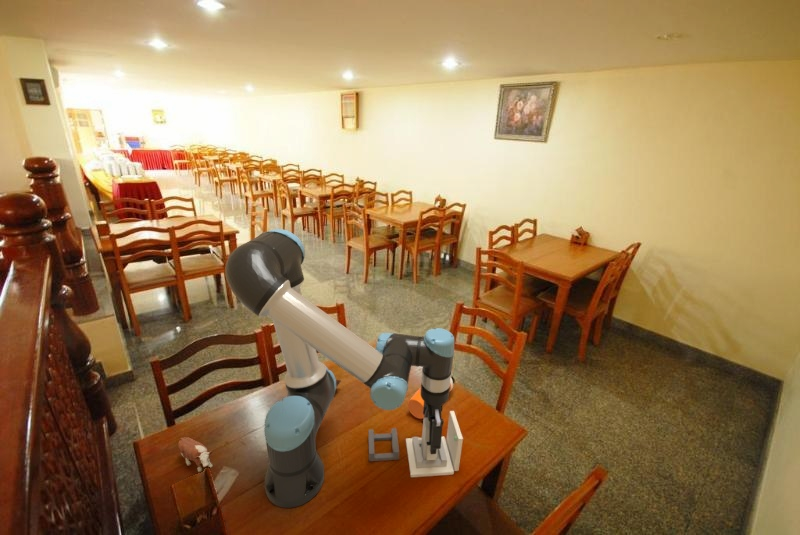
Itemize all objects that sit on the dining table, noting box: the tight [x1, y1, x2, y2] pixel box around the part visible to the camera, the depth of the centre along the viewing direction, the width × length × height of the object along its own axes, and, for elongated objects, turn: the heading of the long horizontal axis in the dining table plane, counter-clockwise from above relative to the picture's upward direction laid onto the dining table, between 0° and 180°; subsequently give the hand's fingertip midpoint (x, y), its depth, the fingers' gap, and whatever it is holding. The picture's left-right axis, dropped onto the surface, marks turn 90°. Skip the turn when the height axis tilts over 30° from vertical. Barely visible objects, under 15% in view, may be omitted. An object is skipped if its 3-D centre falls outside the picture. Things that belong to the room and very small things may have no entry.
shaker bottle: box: [407, 376, 456, 420], centre depth 121 cm, size 9×9×20 cm
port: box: [405, 410, 464, 478], centre depth 100 cm, size 14×12×12 cm
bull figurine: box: [177, 436, 214, 473], centre depth 95 cm, size 4×13×8 cm, turn 58°
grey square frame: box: [368, 427, 400, 462], centre depth 104 cm, size 8×8×3 cm
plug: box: [421, 416, 438, 460], centre depth 99 cm, size 4×4×14 cm
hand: (429, 448), depth 101 cm, fingers open, 6 cm apart
